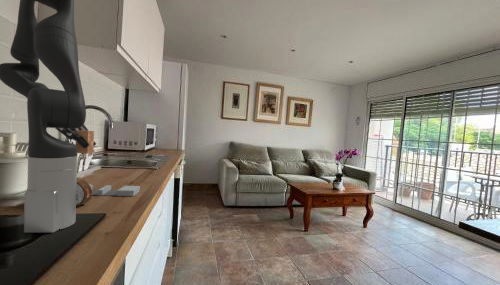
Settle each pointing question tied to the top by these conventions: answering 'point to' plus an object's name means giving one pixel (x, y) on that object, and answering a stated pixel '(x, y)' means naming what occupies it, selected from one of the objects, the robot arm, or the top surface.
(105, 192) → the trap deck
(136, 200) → the top surface
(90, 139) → the block
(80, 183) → the tin
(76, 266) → the top surface
